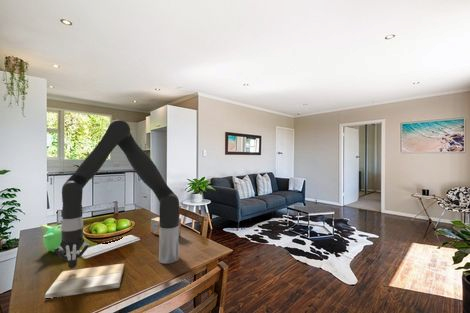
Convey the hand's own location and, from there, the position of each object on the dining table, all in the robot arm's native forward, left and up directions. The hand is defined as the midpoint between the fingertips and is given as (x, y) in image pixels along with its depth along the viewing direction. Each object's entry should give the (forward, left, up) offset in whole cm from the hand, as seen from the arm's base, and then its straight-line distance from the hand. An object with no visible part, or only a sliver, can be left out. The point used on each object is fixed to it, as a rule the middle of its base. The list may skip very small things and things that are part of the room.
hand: (72, 267), depth 96 cm
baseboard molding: (-10, -30, -5) cm, 31 cm away
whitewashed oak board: (-8, +10, -4) cm, 13 cm away
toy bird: (+14, -31, -4) cm, 35 cm away
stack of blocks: (-40, -40, -4) cm, 57 cm away
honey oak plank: (-8, +2, -4) cm, 9 cm away
